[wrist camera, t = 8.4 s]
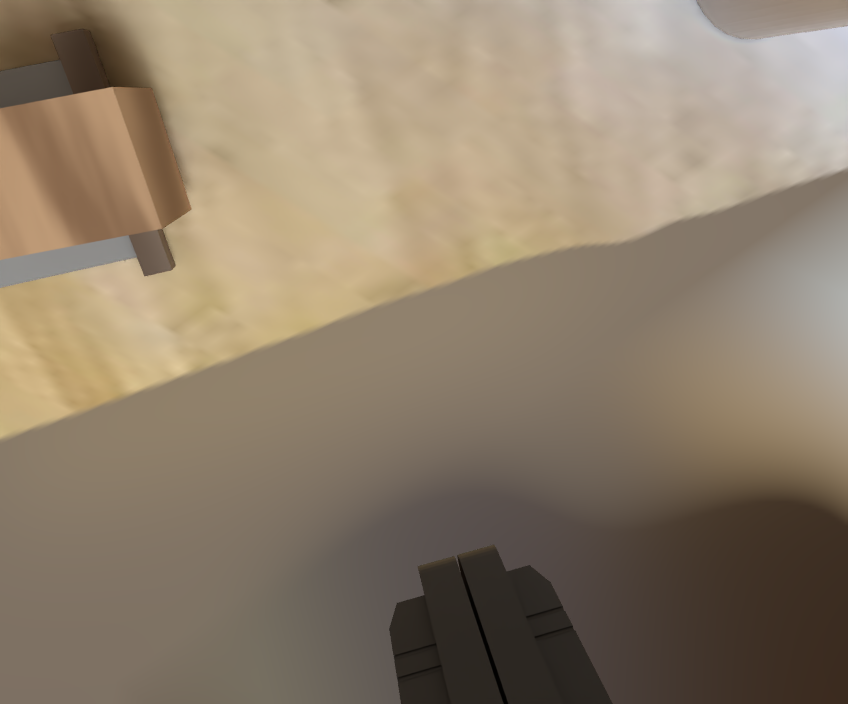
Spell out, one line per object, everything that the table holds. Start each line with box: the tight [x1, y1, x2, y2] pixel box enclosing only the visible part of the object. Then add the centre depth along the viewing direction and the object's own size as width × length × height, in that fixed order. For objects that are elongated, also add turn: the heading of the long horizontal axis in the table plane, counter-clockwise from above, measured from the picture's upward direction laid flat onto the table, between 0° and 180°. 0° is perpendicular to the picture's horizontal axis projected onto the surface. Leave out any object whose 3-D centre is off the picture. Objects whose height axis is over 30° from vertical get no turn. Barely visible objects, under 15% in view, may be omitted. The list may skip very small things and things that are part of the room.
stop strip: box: [51, 29, 175, 276], centre depth 31 cm, size 2×12×1 cm, turn 10°
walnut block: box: [0, 87, 191, 260], centre depth 29 cm, size 5×6×10 cm
